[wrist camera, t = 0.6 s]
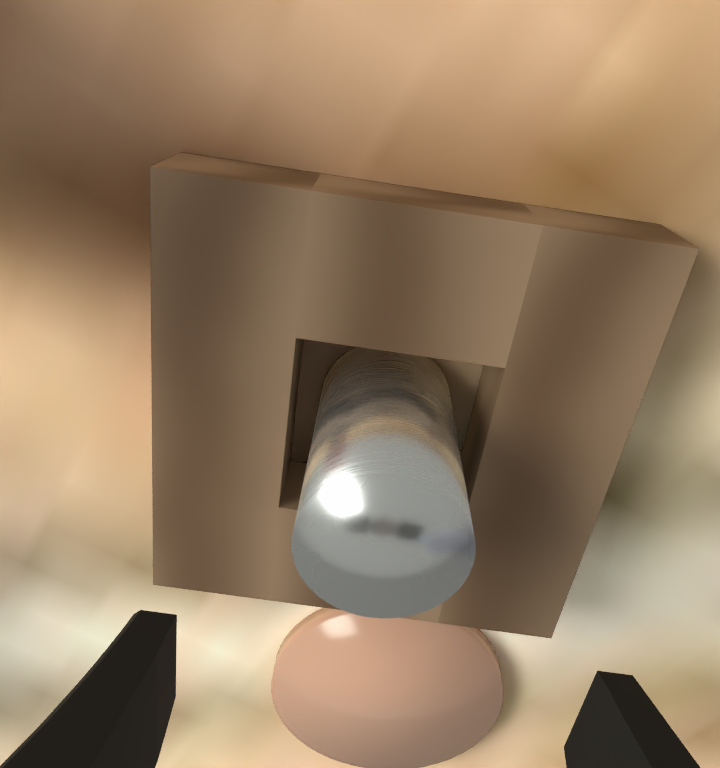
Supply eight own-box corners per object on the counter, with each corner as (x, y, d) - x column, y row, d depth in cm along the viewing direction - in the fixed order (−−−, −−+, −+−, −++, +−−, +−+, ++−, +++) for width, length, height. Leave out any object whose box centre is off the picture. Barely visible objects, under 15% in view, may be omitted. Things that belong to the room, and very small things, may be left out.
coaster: (525, 612, 24) (529, 629, 23) (473, 763, 28) (475, 782, 27) (284, 580, 24) (281, 596, 23) (266, 736, 28) (263, 754, 27)
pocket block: (660, 224, 18) (699, 248, 15) (536, 582, 23) (551, 638, 21) (181, 152, 17) (149, 166, 15) (176, 533, 23) (153, 584, 21)
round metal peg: (461, 351, 20) (494, 489, 13) (436, 461, 21) (454, 628, 15) (329, 332, 19) (300, 461, 13) (315, 444, 21) (283, 605, 15)
